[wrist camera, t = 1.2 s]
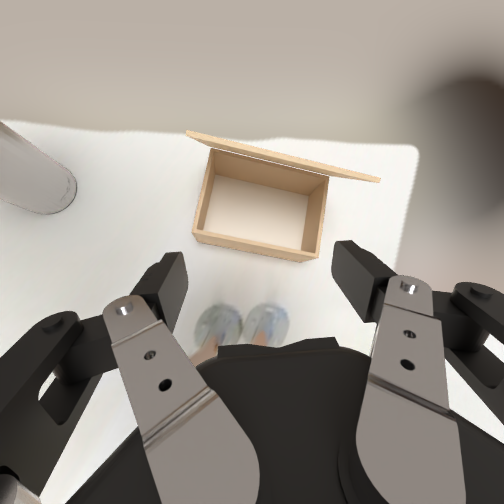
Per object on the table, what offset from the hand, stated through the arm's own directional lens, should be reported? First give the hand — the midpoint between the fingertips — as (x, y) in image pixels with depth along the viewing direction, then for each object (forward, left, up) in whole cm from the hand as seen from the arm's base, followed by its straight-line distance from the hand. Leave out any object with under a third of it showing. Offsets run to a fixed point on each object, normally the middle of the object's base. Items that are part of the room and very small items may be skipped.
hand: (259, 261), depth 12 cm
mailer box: (+2, +12, -30) cm, 32 cm away
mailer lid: (+2, +15, -15) cm, 22 cm away
